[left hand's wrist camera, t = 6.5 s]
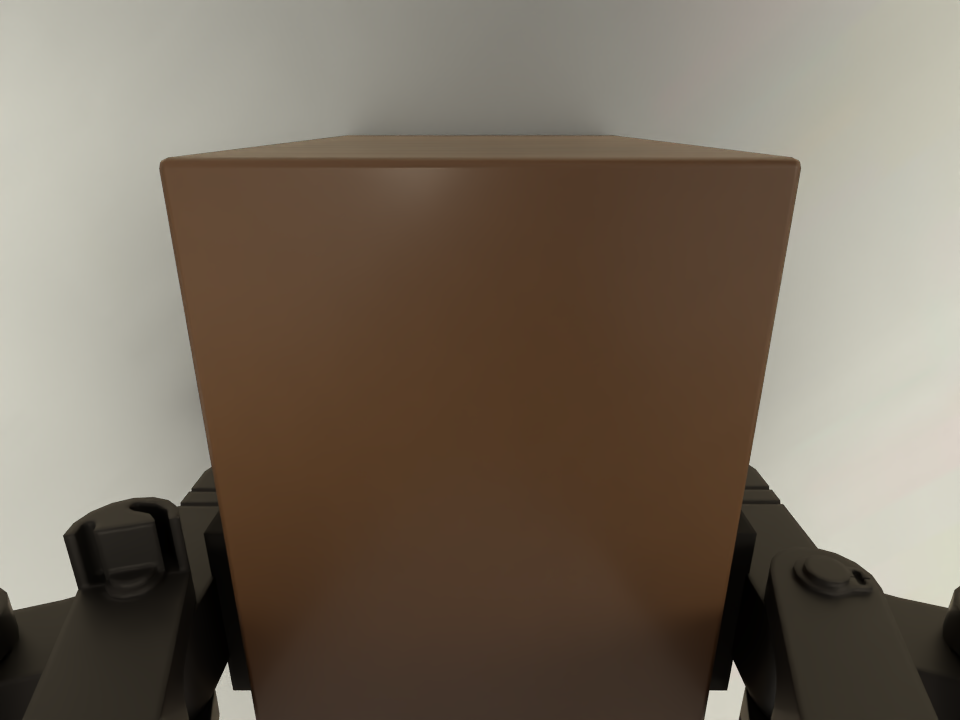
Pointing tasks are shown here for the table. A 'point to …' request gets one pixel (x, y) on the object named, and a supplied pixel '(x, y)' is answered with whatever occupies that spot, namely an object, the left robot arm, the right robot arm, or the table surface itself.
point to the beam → (480, 413)
